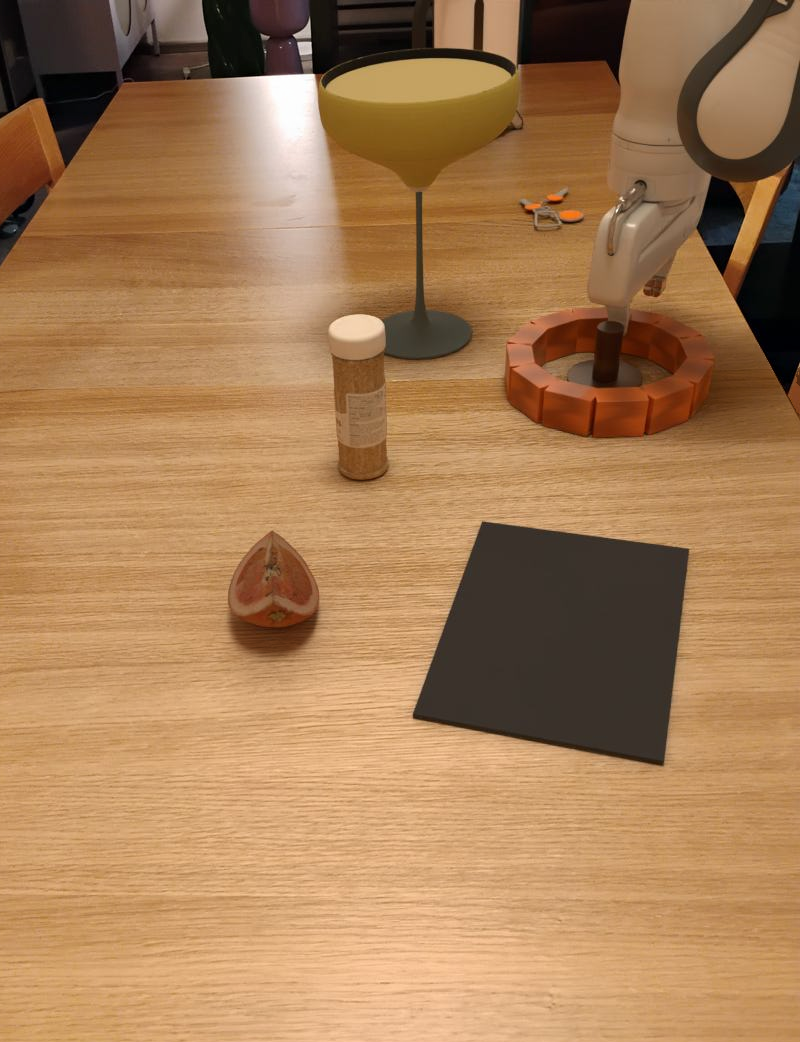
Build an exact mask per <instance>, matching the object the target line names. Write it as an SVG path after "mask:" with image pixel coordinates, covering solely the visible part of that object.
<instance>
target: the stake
mask: <svg viewBox="0 0 800 1042" xmlns="http://www.w3.org/2000/svg"><path fill="white" fill-rule="evenodd" d="M623 334H624V325H623V324H621V323H619V322H616V321H605V322H602V323H600V324H598V326H597V334H596V343H595V352H593V353H594V354H593V359H589V360H584V361H580V362H578V363H576V364H574V365H573V366H571V367H570V368H569V370H568V371H567V373H566V380H565V381H568V382H573V383H577V384H581V385H586V386H590V387H594V388H620V387H641V386H643V383H644V382H643V381H644V377H643V376H644V375H643V373H642V372H641V370H640V369H639V368H638V367H636V366H634V365H633V364H631V363H628V362H626V361H623V360H621V356H622V353H621V349H622V342H623Z"/></svg>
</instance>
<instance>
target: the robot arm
mask: <svg viewBox="0 0 800 1042" xmlns="http://www.w3.org/2000/svg"><path fill="white" fill-rule="evenodd" d="M630 1H631V2H630V4H629V8H628V14H627V17H626V18H627V19H626V23H625V29H624V35H623V41H622V46H621V47H622V48H621V54H620V61H619V66H618V67H619V69H618V82H619V88H620V99H619V104H618V108H617V111H616V113H615V116H614V119H613V122H612V125H611V133H610V143H609V149H608V151H609V152H608V157H607V159H608V160H607V166H606V175H605V186H606V188H607V189H608V190H609V191H611V192H612V193H613V194H615V195H616V196H617V199H616V202H615V205H613V206H612V207H611V208H610V209H609V210H608V211H607V212H605V214H604V215H603V217H602V218H601V220H600V223H599V224H598V227H597V230H596V234H595V238H594V244H593V247H592V254H591V258H590V259H591V260H590V266H589V270H588V271H589V272H588V278H587V283H586V284H587V285H586V294H587V298H588V300H589V302H591V303H593V304H596V305H601V306H603V307H606V310H607V314H608V321H616V322H619V323H621V324H623V325H624V334H623V336H624V335H625V334H626V333H627V332H628V330H629V329H630V327H631V321H632V314H630V309H631V304H632V302H633V301H634V299H633V298H635V297H636V295H637V294H638V293H639V292H641V290H642V293H643V295H644V296H647V297H652V298H659V297H660V296H661V295H662V294H663V293H664V291H665V290H666V288H667V281H668V276H669V273H670V272H671V269H672V267H673V263H674V261H675V259H676V256H677V251H678V250H679V249H680V248H681V247H682V246H683V245H684V244H685V243H686V242H687V240H688V239H689V238H691V236H693V234H694V233H695V231H696V229H697V227H698V225H699V222H700V220H701V217H702V214H703V210H704V206H705V202H706V199H707V195H708V192H709V187H710V184H711V178H712V177H714V178H717V179H718V180H721V181H725V182H731V183H738V184H739V183H741V184H743V183H745V184H746V183H753V182H758V181H763V180H765V179H768V178H771V177H773V176H775V175H777V174H778V173H780V172H782V171H783V170H784V169H786V168H787V167H789V166H790V165H791V164H792V163H793V162H794V161H795V160H796V159H797V158H798V157H799V156H800V0H630Z"/></svg>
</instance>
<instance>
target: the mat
mask: <svg viewBox="0 0 800 1042" xmlns="http://www.w3.org/2000/svg"><path fill="white" fill-rule="evenodd" d="M689 554H690V548H687V547H680V546H672V545H664V544H656V543H651V542H642V541H634V540H627V539H619V538H612V537H604V536H598V535H589V534H581V533H575V532H567V531H559V530H551V529H544V528H535V527H529V526H520V525H515V524H514V525H513V524H508V523H507V524H506V523H498V522H491V521H482V522H481V523H480V526H479V529H478V532H477V534H476V537H475V540H474V542H473V546H472V549H471V551H470V554H469V557H468V559H467V563H466V564H465V568H464V571H463V574H462V575H461V579H460V582H459V584H458V587H457V590H456V593H455V595H454V599H453V601H452V604H451V606H450V610H449V613H448V615H447V617H446V621H445V623H444V626H443V629H442V632H441V634H440V637H439V640H438V643H437V646H436V648H435V651H434V653H433V657H432V660H431V661H430V665H429V668H428V671H427V673H426V676H425V679H424V682H423V685H422V687H421V689H420V693H419V695H418V698H417V701H416V704H415V706H414V710H413V712H412V718H413V719H418V720H424V721H429V722H434V723H440V724H445V725H448V726H449V725H450V726H456V727H460V728H465V729H470V730H476V731H482V732H488V733H493V734H497V735H502V736H508V737H513V738H519V739H522V740H528V741H535V742H540V743H544V744H549V745H555V746H559V747H565V748H571V749H575V750H581V751H586V752H590V753H591V752H592V753H597V754H602V755H608V756H612V757H617V758H623V759H628V760H633V761H639V762H645V763H650V764H654V765H661V766H664V764H665V757H666V749H667V740H668V733H669V723H670V715H671V708H672V707H671V706H672V697H673V691H674V690H673V689H674V681H675V675H676V674H675V672H676V664H677V657H678V656H677V655H678V647H679V641H680V632H681V631H680V630H681V622H682V615H683V607H684V597H685V589H686V580H687V572H688V564H689V563H688V562H689Z"/></svg>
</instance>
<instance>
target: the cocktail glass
mask: <svg viewBox="0 0 800 1042" xmlns="http://www.w3.org/2000/svg"><path fill="white" fill-rule="evenodd" d="M519 72H520V71H519V68H518V69H517V67H516V65H515V64H514V63H513V62H512V61H511V60H509V59H507V58H505V57H503V56H500V55H497V54H494V53H489V52H485V51H479V50H471V49H459V48H433V47H426V48H423V49H412V48H411V49H399V50H392V51H386V52H380V53H375V54H370V55H366V56H361V57H358V58H353V59H351V60H348V61H346V62H343V63H340V64H338V65H336V66H334V67H332V68H330V69H329V70H327V71H326V72H325V73H324V74H323V75H322V76H321V78H320V80H319V83H318V90H317V102H318V103H317V105H318V112H319V113H318V114H319V118H320V122H321V126H322V128H323V129H324V131H325V133H326V134H327V135H328V136H329V137H330V138H331V140H333V141H334V142H335V143H336V144H338V145H339V146H340V147H342V148H343V149H344V150H345V151H347V152H349V153H351V154H353V155H355V156H357V157H359V158H362V159H364V160H366V161H368V162H371V163H373V164H375V165H376V164H377V165H379V166H382V167H385V168H386V169H389V170H390V171H392V172H394V173H395V174H396V175H397V176H398V177H399V179H400V180H401V181H402V183H403V184H404V185H405V186H406V188H407V189H408V190H410V191H411V192H414V193H415V231H416V232H415V236H416V237H415V246H416V248H415V249H416V250H415V252H416V253H415V254H416V255H415V266H416V267H415V302H414V310H407V311H402V312H398V313H397V312H396V313H394V314H391V315H388V316H386V317H384V318H382V319H380V320H381V321H382V322H383V323H384V326H385V337H386V346H385V348H384V349H385V352H384V355H387V356H390V357H393V358H398V359H405V360H428V359H429V360H430V359H436V358H440V357H445V356H448V355H450V354H453V353H455V352H458V351H459V350H461V349H462V348H464V347H465V346H466V345H467V344H468V343H469V342H470V340H472V335H473V330H472V327H471V325H470V323H469V322H468V321H467V320H465V319H464V318H463V317H461V316H459V315H457V314H454V313H451V312H447V311H443V310H442V311H441V310H436V309H435V310H434V309H427V308H426V301H425V289H424V288H425V287H424V251H423V250H424V248H423V246H424V244H423V242H424V241H423V192H425V191H427V190H428V189H429V188H430V187H431V186H432V184H433V183H434V182H435V181H436V179H437V177H438V176H439V175H440V173H441V172H442V171H443V170H444V169H446V168H447V167H448V166H450V165H452V164H453V163H455V162H458V161H460V160H463V159H464V158H466V157H468V156H470V155H472V154H474V153H476V152H477V151H479V150H480V149H482V148H484V147H486V146H487V145H489V144H491V143H492V142H493V141H494V140H495V139H497V138H498V137H499V136H500V135H501V134H502V133H503V132H504V131H505V130H506V129H508V127H509V125H511V124H510V123H511V121H512V122H513V120H514V118H515V117H516V114H517V112H516V111H517V110H518V107H519V100H520V92H521V91H520V90H521V89H520V87H521V81H520V73H519Z"/></svg>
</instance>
